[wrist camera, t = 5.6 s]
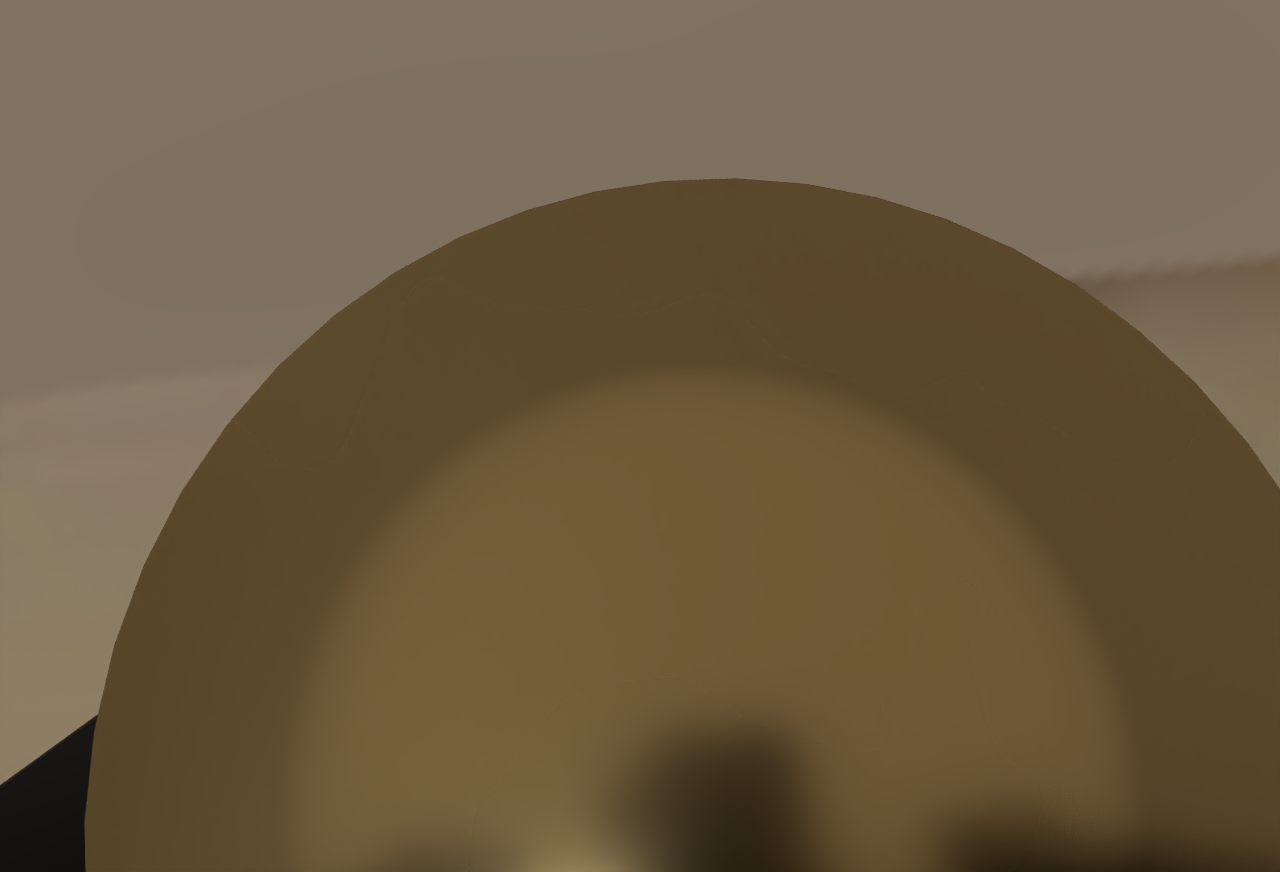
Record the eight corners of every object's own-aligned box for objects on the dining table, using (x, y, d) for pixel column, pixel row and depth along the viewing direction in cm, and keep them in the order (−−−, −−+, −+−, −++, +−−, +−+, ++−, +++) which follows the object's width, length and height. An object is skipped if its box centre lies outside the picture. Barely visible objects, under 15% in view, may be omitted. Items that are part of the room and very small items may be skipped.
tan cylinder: (940, 797, 15) (1650, 754, 5) (655, 1119, 14) (770, 2053, 3) (660, 518, 16) (732, -5, 6) (373, 789, 15) (-181, 726, 5)
